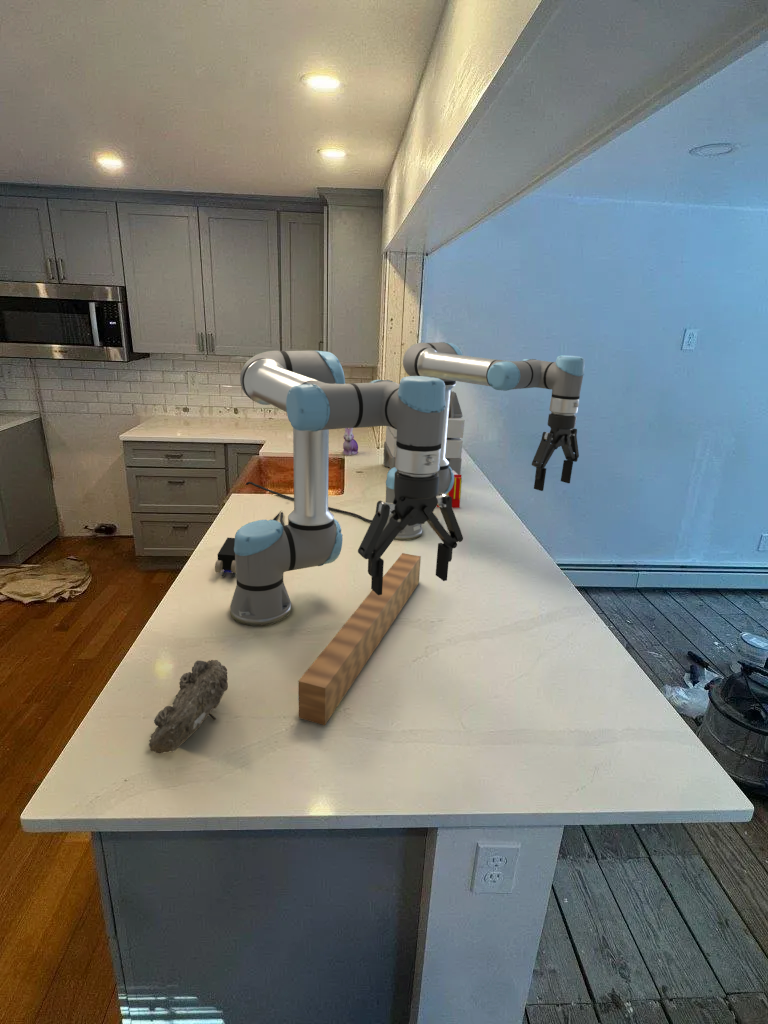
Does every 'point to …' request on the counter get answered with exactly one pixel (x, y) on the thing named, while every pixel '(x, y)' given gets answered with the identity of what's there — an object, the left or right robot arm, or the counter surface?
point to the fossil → (189, 705)
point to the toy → (455, 491)
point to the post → (355, 642)
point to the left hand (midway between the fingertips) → (409, 584)
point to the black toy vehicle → (226, 558)
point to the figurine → (349, 443)
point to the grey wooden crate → (452, 442)
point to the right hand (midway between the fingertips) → (552, 485)
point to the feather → (276, 516)
